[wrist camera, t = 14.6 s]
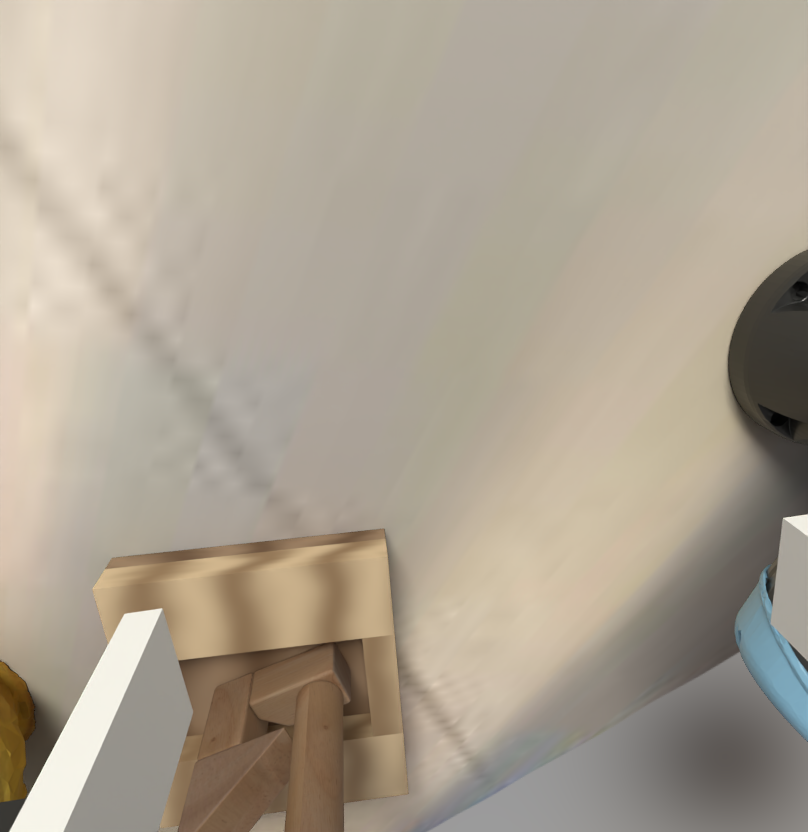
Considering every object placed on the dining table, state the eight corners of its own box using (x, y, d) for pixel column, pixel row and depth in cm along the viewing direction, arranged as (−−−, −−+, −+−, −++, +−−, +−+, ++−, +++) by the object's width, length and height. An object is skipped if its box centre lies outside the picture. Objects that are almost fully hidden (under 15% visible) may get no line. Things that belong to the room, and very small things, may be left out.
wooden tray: (384, 528, 49) (387, 556, 45) (404, 754, 57) (408, 794, 53) (111, 558, 47) (92, 589, 44) (173, 785, 56) (161, 828, 52)
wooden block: (213, 685, 50) (149, 933, 34) (333, 637, 50) (330, 863, 33) (234, 716, 52) (183, 969, 35) (352, 669, 51) (357, 903, 34)
